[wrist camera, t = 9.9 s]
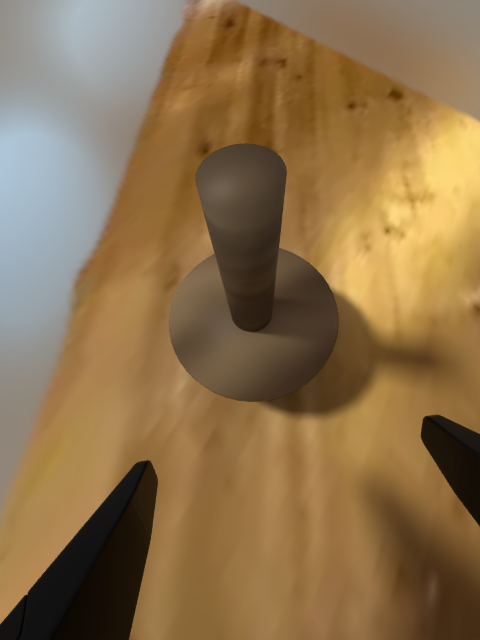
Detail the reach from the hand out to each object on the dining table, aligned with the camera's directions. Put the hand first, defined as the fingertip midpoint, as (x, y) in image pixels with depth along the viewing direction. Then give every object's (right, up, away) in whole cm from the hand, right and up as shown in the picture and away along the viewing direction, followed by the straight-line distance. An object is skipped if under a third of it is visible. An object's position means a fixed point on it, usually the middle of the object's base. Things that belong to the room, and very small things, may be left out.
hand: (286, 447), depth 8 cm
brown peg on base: (-1, +4, +11) cm, 12 cm away
